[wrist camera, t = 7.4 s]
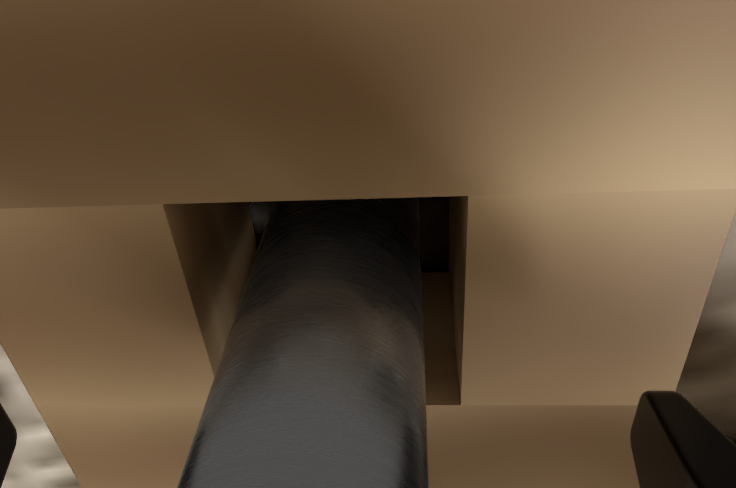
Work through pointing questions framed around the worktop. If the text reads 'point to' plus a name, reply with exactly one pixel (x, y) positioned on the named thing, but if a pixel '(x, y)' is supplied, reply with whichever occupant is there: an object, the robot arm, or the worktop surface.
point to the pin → (322, 356)
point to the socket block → (366, 181)
